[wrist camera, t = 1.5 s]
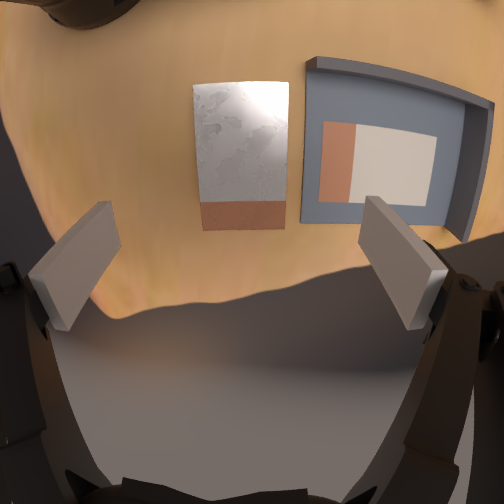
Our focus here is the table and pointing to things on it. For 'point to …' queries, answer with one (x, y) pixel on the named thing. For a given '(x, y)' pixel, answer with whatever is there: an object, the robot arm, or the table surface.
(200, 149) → the aluminium block
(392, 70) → the corner tray
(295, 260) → the table surface
